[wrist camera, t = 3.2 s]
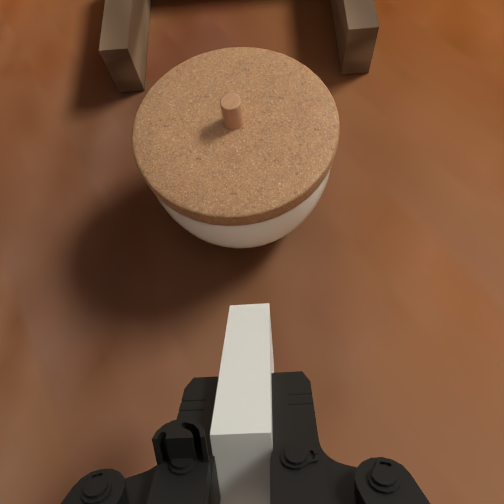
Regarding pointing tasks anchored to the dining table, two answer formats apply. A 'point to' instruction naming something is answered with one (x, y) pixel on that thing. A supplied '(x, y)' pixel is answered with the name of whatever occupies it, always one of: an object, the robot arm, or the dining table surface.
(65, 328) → the dining table surface
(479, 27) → the dining table surface
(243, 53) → the lidded jar
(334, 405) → the dining table surface
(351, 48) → the u-shaped bracket
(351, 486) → the robot arm
